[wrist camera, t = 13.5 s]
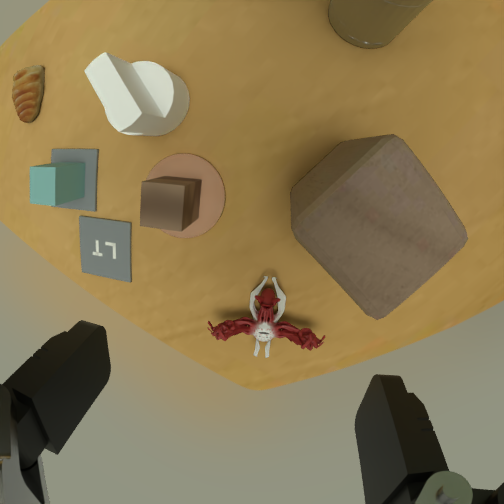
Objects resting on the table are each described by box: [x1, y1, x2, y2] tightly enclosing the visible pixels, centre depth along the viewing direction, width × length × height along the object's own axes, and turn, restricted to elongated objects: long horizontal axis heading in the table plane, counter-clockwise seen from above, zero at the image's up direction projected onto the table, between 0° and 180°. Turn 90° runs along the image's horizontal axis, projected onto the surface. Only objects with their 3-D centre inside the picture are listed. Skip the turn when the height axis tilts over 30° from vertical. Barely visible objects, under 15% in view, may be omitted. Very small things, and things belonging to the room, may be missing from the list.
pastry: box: [12, 65, 44, 123], centre depth 37 cm, size 9×7×4 cm
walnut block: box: [140, 176, 202, 232], centre depth 37 cm, size 5×5×7 cm
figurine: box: [208, 276, 325, 358], centre depth 42 cm, size 15×12×7 cm
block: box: [290, 134, 468, 320], centre depth 29 cm, size 10×10×20 cm
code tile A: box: [79, 216, 132, 282], centre depth 44 cm, size 9×9×1 cm
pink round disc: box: [146, 154, 225, 238], centre depth 41 cm, size 11×11×1 cm
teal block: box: [30, 162, 85, 206], centre depth 38 cm, size 5×5×7 cm
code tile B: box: [51, 149, 99, 212], centre depth 42 cm, size 9×9×1 cm
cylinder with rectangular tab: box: [85, 52, 190, 136], centre depth 32 cm, size 9×9×12 cm
